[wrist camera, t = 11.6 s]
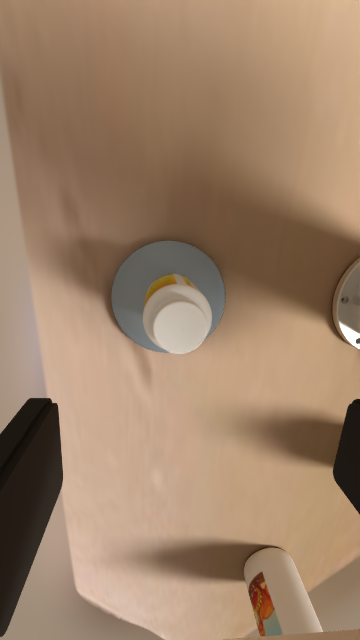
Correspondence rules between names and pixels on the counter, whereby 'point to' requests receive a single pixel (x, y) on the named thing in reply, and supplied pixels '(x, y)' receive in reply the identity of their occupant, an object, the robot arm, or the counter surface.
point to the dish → (151, 266)
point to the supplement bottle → (176, 314)
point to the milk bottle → (278, 595)
